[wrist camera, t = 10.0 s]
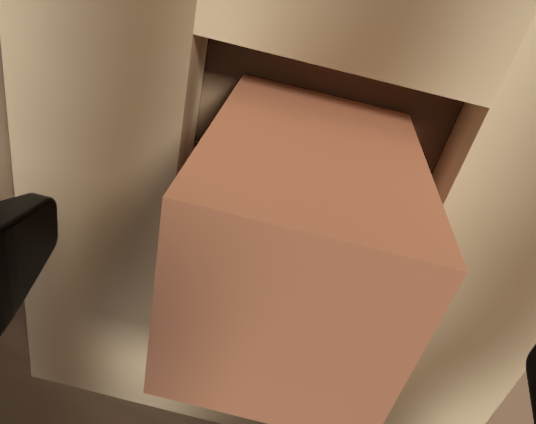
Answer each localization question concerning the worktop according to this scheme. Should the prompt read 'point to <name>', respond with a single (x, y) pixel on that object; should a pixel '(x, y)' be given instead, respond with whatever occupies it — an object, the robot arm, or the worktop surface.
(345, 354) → the tall peg
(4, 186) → the worktop surface
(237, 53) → the worktop surface
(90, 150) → the hole board
